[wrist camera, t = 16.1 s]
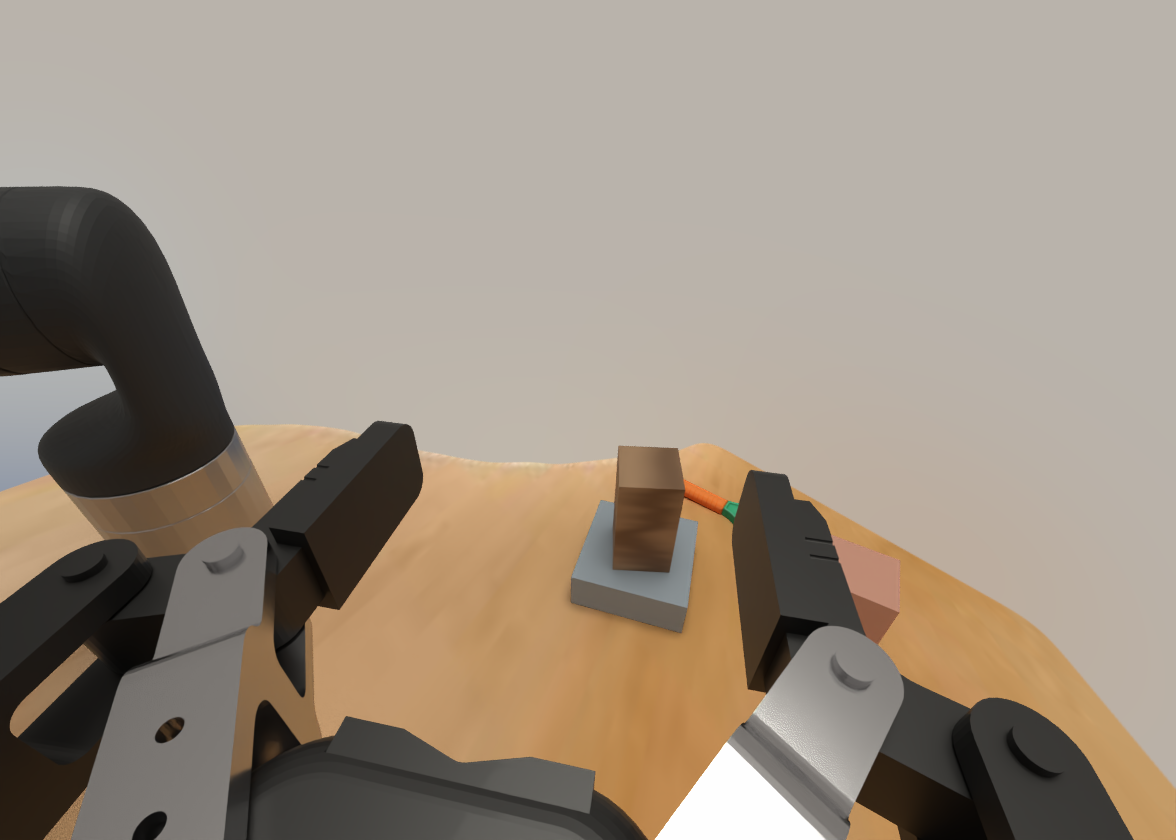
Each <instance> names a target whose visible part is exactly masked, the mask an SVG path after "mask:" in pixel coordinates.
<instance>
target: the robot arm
mask: <svg viewBox="0 0 1176 840" xmlns="http://www.w3.org/2000/svg"><path fill="white" fill-rule="evenodd" d="M102 365H104V366H105V368H106V369H107V371H108V373H109V375H110V377H111V378H112V380H113V382H114V385H115V387H116V390H115V391H113V392H111V393H109V394H107V395H104V396H102V397H100V398H97V399H96V400H93V401H91V402H89V403H87V404H85V405H83V406H81V407H79V408H77V409H76V410H74V411H72V412H70V413H69V414H67V415H66V416H65V417H63V418H62V419H61V420H59V421H58V422H57V423H55V424H54V425H53V426H52V427H51V428H50V429H49V430H48V431H47V432H46V433H45V434H44V435H43V437H42V438H41V440H40V442H39V446H38V454H39V459H40V460H41V462H42V464H43V466H44V467H45V468H46V470H47V471H48V473H49V474H50V475H51V476H52V477H53V479H54V480H55V481H56V482H57V484H58V485H59V486H60V487H61V488H62V489H63V490H64V492H65V493H66V494H67V495H68V497H69V498H70V499H71V500H72V501H73V503H74V504H75V505H76V506H77V507H78V509H79V510H80V511H81V512H82V514H83V515H84V516H85V517H86V518H87V520H88V521H89V522H90V523H91V524H92V525H93V526H94V528H95V529H96V530H97V531H98V533H99V534H100V535H101V536H102V537H103V539H104V541H100V542H96V543H93V544H90V545H87V546H84V547H82V548H80V549H77V550H75V551H73V552H71V553H69V554H67V555H66V556H64V557H62V558H61V559H59V560H58V561H56V562H55V563H53V564H52V565H51V566H49V567H48V568H47V569H45V570H44V571H43V572H41V573H40V574H39V575H37V576H36V577H35V578H33V579H32V580H31V581H29V582H28V583H27V584H25V585H24V586H23V587H22V588H20V589H19V590H18V591H16V592H15V593H14V594H12V595H11V596H10V597H8V598H7V599H6V600H4V601H3V602H2V603H0V840H43V839H44V838H45V836H46V835H47V834H48V833H49V832H50V830H51V829H52V828H53V827H54V826H55V824H56V823H57V822H58V821H59V820H60V818H61V817H62V816H63V815H64V814H65V812H66V811H67V810H68V809H69V808H70V806H71V805H72V804H73V803H74V802H75V800H76V799H77V798H78V797H79V796H80V794H81V793H82V792H83V791H84V790H85V788H86V787H87V789H86V792H85V795H84V799H83V802H82V805H81V808H80V812H79V815H78V818H77V821H76V825H75V828H74V831H73V834H72V838H71V840H648V839H647V838H646V836H645V835H644V834H643V833H642V831H641V830H640V829H639V827H638V826H637V825H636V823H635V822H634V821H633V820H632V819H631V818H630V817H629V816H628V815H627V814H626V813H625V812H624V811H623V810H622V809H621V808H620V807H618V806H617V805H616V804H615V803H613V802H612V801H611V800H610V799H608V798H607V797H605V796H604V795H602V794H600V793H599V792H597V791H595V790H594V781H595V771H592V770H588V769H583V768H579V767H574V766H570V765H565V764H561V763H556V762H552V761H547V760H542V759H538V758H533V757H524V758H513V759H502V760H491V761H479V762H468V763H461V762H457V761H455V760H453V759H451V758H450V757H448V756H446V755H445V754H443V753H442V752H440V751H438V750H437V749H435V748H434V747H432V746H430V745H429V744H427V743H426V742H424V741H422V740H421V739H419V738H418V737H416V736H414V735H413V734H411V733H410V732H408V731H406V730H405V729H402V728H397V727H393V726H388V725H384V724H379V723H375V722H370V721H366V720H361V719H357V718H352V717H348V716H346V717H345V719H344V720H343V722H342V724H341V726H340V728H339V729H338V731H337V733H336V735H335V736H330V737H325V738H322V735H321V730H320V727H319V723H318V720H317V717H316V712H315V705H314V674H313V635H312V622H311V620H310V618H309V617H310V616H311V614H312V613H313V612H314V610H315V609H316V608H317V606H321V607H326V608H331V609H337V610H340V608H341V607H342V605H343V604H344V603H345V601H346V600H347V598H348V597H349V595H350V594H351V592H352V591H353V590H354V588H355V587H356V585H357V584H358V582H359V581H360V580H361V578H362V577H363V575H364V574H365V572H366V571H367V569H368V568H369V567H370V565H371V564H372V562H373V561H374V559H375V558H376V556H377V555H378V554H379V552H380V551H381V549H382V548H383V546H384V545H385V544H386V542H387V541H388V539H389V538H390V536H391V535H392V533H393V532H394V531H395V529H396V528H397V526H398V525H399V523H400V522H401V521H402V519H403V518H404V516H405V515H406V513H407V512H408V510H409V509H410V508H411V506H412V505H413V503H414V502H415V500H416V499H417V497H418V496H419V494H420V491H421V488H422V483H423V472H422V467H421V463H420V458H419V454H418V450H417V445H416V441H415V437H414V432H413V430H412V428H411V426H409V425H407V424H399V423H392V422H384V421H377V422H374V423H373V424H372V425H371V426H370V427H369V428H368V429H367V430H366V431H365V432H364V433H363V434H362V435H361V436H360V437H359V438H358V439H355V438H353V439H351V440H350V441H348V442H346V443H344V444H342V445H341V446H339V447H337V448H335V449H333V450H332V451H331V452H330V453H329V454H328V455H327V456H326V457H325V458H324V459H322V460H321V461H320V462H319V463H318V464H317V468H313V469H312V470H311V471H310V472H309V473H308V474H307V475H306V476H305V477H304V480H301V481H300V482H298V483H297V484H296V485H295V486H294V487H293V488H292V489H291V490H290V491H289V492H288V493H287V494H286V495H285V496H284V497H283V498H282V499H281V500H280V501H279V502H278V503H277V504H275V505H274V506H273V504H272V502H271V500H270V498H269V496H268V494H267V492H266V490H265V488H264V486H263V483H262V481H261V479H260V477H259V475H258V473H257V471H256V469H255V467H254V465H253V463H252V461H251V459H250V458H249V455H248V453H247V451H246V449H245V447H244V445H243V443H242V441H241V439H240V437H239V435H238V433H237V431H236V429H235V427H234V425H233V423H232V421H231V419H230V417H229V415H228V412H227V410H226V408H225V405H224V402H223V399H222V395H221V392H220V389H219V386H218V383H217V380H216V378H215V375H214V373H213V370H212V368H211V366H210V364H209V361H208V360H207V357H206V355H205V353H204V351H203V348H202V346H201V344H200V341H199V339H198V336H197V334H196V332H195V329H194V327H193V324H192V322H191V319H190V317H189V314H188V312H187V309H186V307H185V304H184V302H183V299H182V297H181V294H180V291H179V289H178V286H177V284H176V281H175V279H174V277H173V274H172V272H171V270H170V268H169V265H168V263H167V261H166V259H165V257H164V255H163V254H162V251H161V250H160V248H159V246H158V244H157V242H156V240H155V239H154V237H153V236H152V234H151V233H150V231H149V230H148V229H147V227H146V226H145V224H144V223H143V222H142V221H141V219H140V218H139V217H138V216H137V215H136V214H135V213H134V212H133V211H132V210H131V209H130V208H129V207H128V206H127V205H125V204H124V203H123V202H121V201H120V200H119V199H117V198H115V197H113V196H112V195H110V194H108V193H106V192H103V191H100V190H97V189H93V188H84V187H61V186H55V187H54V186H53V187H0V376H13V375H23V374H30V373H40V372H49V371H58V370H67V369H76V368H84V367H93V366H102ZM732 548H733V557H734V566H735V575H736V585H737V594H738V603H739V613H740V622H741V631H742V640H743V650H744V659H745V668H746V677H747V687H748V689H750V690H755V691H760V692H766V696H765V697H764V699H763V700H762V701H761V703H760V704H759V706H758V707H757V708H756V710H755V711H754V712H753V714H752V715H751V716H750V718H749V719H748V720H747V721H746V722H745V723H742V724H741V725H740V726H739V727H738V728H737V729H736V731H735V732H734V733H733V734H732V736H731V737H730V738H729V740H728V741H727V742H726V744H725V745H724V747H723V748H722V749H721V751H720V752H719V753H718V755H717V756H716V757H715V759H714V760H713V762H712V763H711V764H710V766H709V767H708V768H707V770H706V771H705V772H704V774H703V775H702V777H701V778H700V779H699V781H698V782H697V783H696V785H695V786H694V787H693V789H692V790H691V792H690V793H689V794H688V796H687V797H686V798H685V800H684V801H683V802H682V804H681V805H680V807H679V808H678V809H677V811H676V812H675V813H674V815H673V816H672V817H671V819H670V820H669V822H668V823H667V824H666V826H665V827H664V828H663V830H662V831H661V832H660V834H659V835H658V837H657V838H656V839H655V840H846V838H847V835H848V832H849V829H850V822H849V821H848V818H849V814H850V812H851V809H852V807H853V805H854V802H855V801H856V802H857V803H859V804H861V805H863V806H864V807H866V808H868V809H870V810H871V811H873V812H875V813H877V814H878V815H880V816H882V817H884V818H885V819H887V820H889V821H890V822H892V823H894V824H896V825H897V826H898V830H899V834H900V838H901V840H1134V839H1133V838H1132V836H1131V834H1130V832H1129V831H1128V829H1127V827H1126V825H1125V824H1124V822H1123V820H1122V818H1121V816H1120V815H1119V813H1118V811H1117V809H1116V808H1115V806H1114V804H1113V802H1112V801H1111V799H1110V797H1109V795H1108V794H1107V792H1106V790H1105V788H1104V787H1103V785H1102V783H1101V781H1100V780H1099V778H1098V776H1097V774H1096V773H1095V771H1094V769H1093V767H1092V766H1091V764H1090V763H1089V761H1088V759H1087V758H1086V756H1085V755H1084V754H1083V753H1082V751H1081V750H1080V749H1079V748H1078V746H1077V745H1076V744H1075V743H1074V742H1073V741H1072V740H1071V739H1070V738H1069V737H1068V736H1067V735H1066V734H1065V733H1064V732H1063V731H1062V730H1061V729H1059V728H1058V727H1057V726H1056V725H1055V724H1053V723H1052V722H1051V721H1049V720H1048V719H1047V718H1045V717H1044V716H1042V715H1040V714H1039V713H1037V712H1036V711H1034V710H1032V709H1030V708H1028V707H1026V706H1024V705H1022V704H1019V703H1017V702H1014V701H1011V700H1007V699H1002V698H987V699H983V700H981V701H979V702H978V703H976V704H975V705H974V706H973V707H972V708H971V709H970V708H968V707H965V706H963V705H961V704H959V703H957V702H955V701H952V700H950V699H948V698H946V697H944V696H942V695H939V694H937V693H935V692H933V691H931V690H929V689H926V688H924V687H922V686H920V685H918V684H916V683H914V682H912V681H910V680H909V679H907V678H906V677H904V676H902V675H901V674H900V673H899V671H898V669H897V667H896V666H895V664H894V663H893V661H892V660H891V658H890V657H889V656H888V655H887V654H886V653H885V651H883V650H882V649H881V648H880V647H879V646H878V645H877V644H876V643H874V642H873V641H872V640H870V639H869V638H867V637H866V634H865V632H864V630H863V627H862V624H861V621H860V618H859V615H858V612H857V609H856V606H855V603H854V601H853V598H852V595H851V592H850V589H849V586H848V583H847V580H846V577H845V574H844V571H843V569H842V566H841V563H839V557H838V554H837V551H836V548H835V545H833V540H832V537H831V534H830V531H829V528H828V525H827V522H826V520H825V519H824V518H823V516H822V515H821V514H820V513H819V512H818V511H817V509H816V508H815V507H814V506H813V505H812V504H811V502H810V501H803V500H795V499H794V497H793V494H792V490H791V487H790V483H789V480H788V477H787V476H786V475H785V474H777V473H769V472H762V471H754V470H750V471H749V473H748V475H747V478H746V481H745V484H744V488H743V491H742V495H741V498H740V502H739V505H738V509H737V512H736V515H735V519H734V524H733V532H732ZM82 644H84V645H85V646H86V647H87V648H88V649H89V650H90V651H92V652H93V653H94V654H95V655H96V656H97V657H98V659H97V660H96V661H95V662H94V663H93V664H92V665H91V666H90V667H88V668H87V669H86V670H85V671H84V672H83V673H82V674H81V675H80V676H79V677H78V678H77V679H76V680H75V681H74V682H73V683H72V684H71V685H70V686H69V687H68V688H67V689H66V690H65V691H64V692H63V693H62V694H61V695H60V696H59V697H58V698H57V699H56V700H55V701H54V702H53V703H52V704H51V705H50V706H49V707H48V708H47V709H46V710H45V711H44V712H43V713H42V714H41V715H40V716H39V717H38V718H37V719H36V720H35V721H34V722H33V723H32V724H31V725H30V726H29V727H28V728H27V729H26V730H25V731H24V732H23V733H22V734H21V735H20V736H19V737H18V738H17V737H15V736H14V735H13V734H12V733H11V731H10V720H11V717H12V715H13V713H14V711H15V710H16V708H17V707H18V705H19V704H20V703H21V702H22V701H23V700H24V699H25V697H27V696H28V695H29V694H30V693H31V692H32V691H33V690H34V689H35V688H36V687H37V686H38V685H39V684H40V683H41V682H43V681H44V680H45V679H46V678H47V677H48V676H49V675H50V674H51V673H52V672H53V671H54V670H55V669H56V668H57V667H59V666H60V665H61V664H62V663H63V662H64V661H65V660H66V659H67V658H68V657H69V656H70V655H71V654H72V653H73V652H75V651H76V650H77V649H78V648H79V647H80V646H81V645H82Z"/></svg>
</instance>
